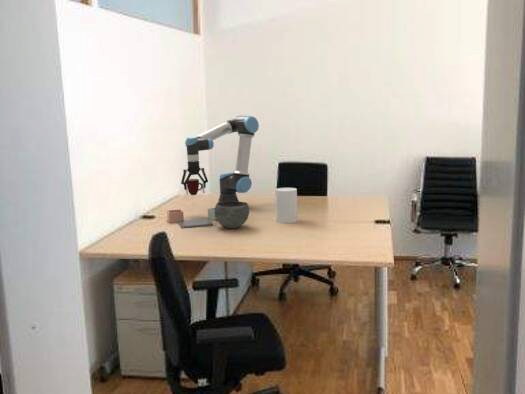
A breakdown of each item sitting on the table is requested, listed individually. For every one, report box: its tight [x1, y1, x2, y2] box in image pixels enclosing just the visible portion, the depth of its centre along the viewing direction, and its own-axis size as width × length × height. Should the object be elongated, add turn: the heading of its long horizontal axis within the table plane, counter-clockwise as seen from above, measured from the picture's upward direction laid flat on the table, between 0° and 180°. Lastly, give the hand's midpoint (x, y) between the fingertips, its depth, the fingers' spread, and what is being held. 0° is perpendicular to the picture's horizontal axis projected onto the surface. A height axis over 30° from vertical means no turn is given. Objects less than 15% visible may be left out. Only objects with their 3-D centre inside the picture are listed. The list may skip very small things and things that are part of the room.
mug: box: [186, 178, 203, 196], centre depth 386 cm, size 10×8×10 cm
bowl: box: [214, 201, 250, 229], centre depth 351 cm, size 21×21×15 cm
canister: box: [274, 187, 298, 224], centre depth 365 cm, size 14×14×20 cm
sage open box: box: [207, 207, 218, 222], centre depth 375 cm, size 8×8×7 cm
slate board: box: [176, 218, 214, 229], centre depth 363 cm, size 20×16×1 cm
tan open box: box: [166, 208, 185, 224], centre depth 370 cm, size 9×9×7 cm
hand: (195, 193), depth 387 cm, fingers closed on mug, 10 cm apart
